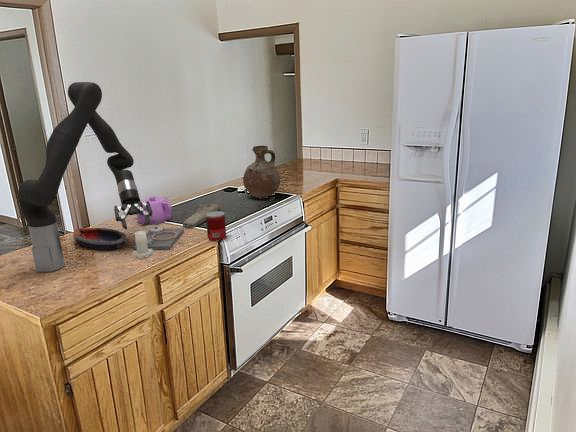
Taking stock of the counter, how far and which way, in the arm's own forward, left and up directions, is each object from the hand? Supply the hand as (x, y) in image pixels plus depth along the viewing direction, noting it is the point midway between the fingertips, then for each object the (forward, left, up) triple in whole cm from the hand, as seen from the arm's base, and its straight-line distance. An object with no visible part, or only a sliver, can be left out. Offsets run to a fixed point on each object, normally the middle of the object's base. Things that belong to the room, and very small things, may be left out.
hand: (137, 226), depth 175 cm
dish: (+10, +21, -11) cm, 26 cm away
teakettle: (+43, +8, -11) cm, 45 cm away
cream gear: (-5, -3, -10) cm, 12 cm away
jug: (+85, -43, -10) cm, 96 cm away
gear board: (+12, -4, -10) cm, 16 cm away
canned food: (+14, -29, -11) cm, 34 cm away
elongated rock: (+45, -16, -11) cm, 49 cm away
